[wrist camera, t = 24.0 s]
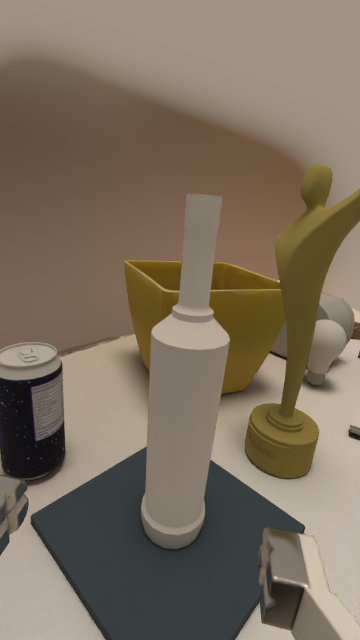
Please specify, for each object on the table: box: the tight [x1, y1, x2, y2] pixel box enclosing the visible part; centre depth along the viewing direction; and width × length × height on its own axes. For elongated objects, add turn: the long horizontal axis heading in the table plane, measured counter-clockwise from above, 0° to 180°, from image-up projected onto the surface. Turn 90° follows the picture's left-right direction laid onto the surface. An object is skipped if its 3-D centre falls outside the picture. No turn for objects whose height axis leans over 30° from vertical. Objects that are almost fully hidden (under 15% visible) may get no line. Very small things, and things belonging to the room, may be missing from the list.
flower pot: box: [124, 260, 286, 394], centre depth 49 cm, size 19×19×17 cm
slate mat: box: [31, 447, 305, 640], centre depth 27 cm, size 16×16×1 cm
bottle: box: [141, 194, 230, 549], centre depth 23 cm, size 5×5×25 cm
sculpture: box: [245, 164, 360, 478], centre depth 31 cm, size 11×7×30 cm, turn 23°
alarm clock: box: [270, 281, 355, 363], centre depth 64 cm, size 21×10×13 cm, turn 39°
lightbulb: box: [307, 319, 347, 385], centre depth 51 cm, size 6×6×11 cm
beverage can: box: [0, 342, 65, 480], centre depth 30 cm, size 6×6×12 cm
